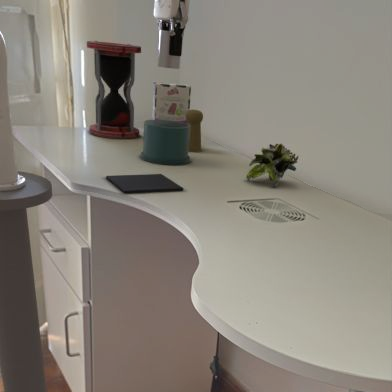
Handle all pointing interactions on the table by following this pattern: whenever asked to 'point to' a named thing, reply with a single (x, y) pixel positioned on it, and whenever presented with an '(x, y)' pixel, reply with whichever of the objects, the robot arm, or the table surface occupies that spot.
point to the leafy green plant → (272, 162)
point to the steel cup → (166, 52)
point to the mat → (143, 183)
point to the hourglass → (114, 89)
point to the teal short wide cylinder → (166, 142)
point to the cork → (194, 129)
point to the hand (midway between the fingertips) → (169, 53)
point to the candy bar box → (171, 101)
